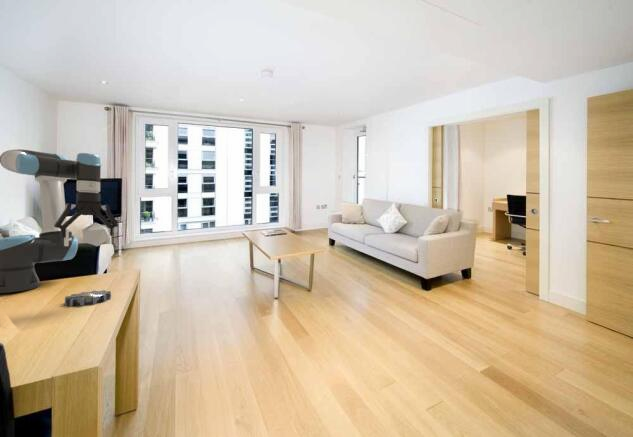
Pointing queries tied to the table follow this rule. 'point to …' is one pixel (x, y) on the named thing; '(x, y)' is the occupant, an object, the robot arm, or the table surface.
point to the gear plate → (87, 298)
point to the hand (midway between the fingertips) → (88, 244)
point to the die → (95, 234)
